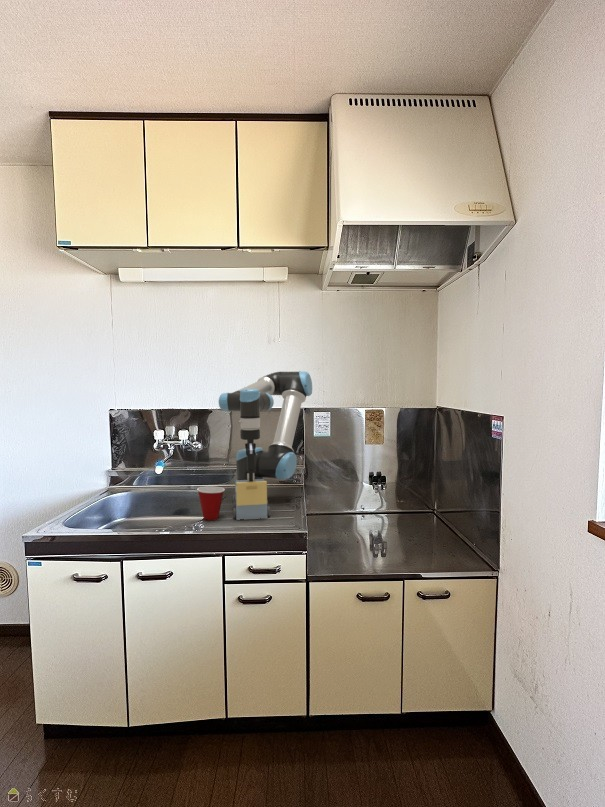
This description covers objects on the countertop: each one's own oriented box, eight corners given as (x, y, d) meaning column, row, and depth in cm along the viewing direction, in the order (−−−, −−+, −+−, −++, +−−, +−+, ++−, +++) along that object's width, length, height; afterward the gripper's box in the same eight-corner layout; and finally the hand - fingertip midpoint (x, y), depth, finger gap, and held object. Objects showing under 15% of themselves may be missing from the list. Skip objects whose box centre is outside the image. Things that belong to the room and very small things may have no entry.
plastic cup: (230, 519, 183) (229, 489, 182) (203, 524, 178) (202, 493, 177) (219, 512, 192) (218, 483, 192) (193, 517, 187) (193, 487, 186)
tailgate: (236, 504, 182) (236, 482, 180) (266, 503, 184) (266, 480, 182) (236, 506, 180) (236, 483, 179) (267, 504, 182) (266, 482, 181)
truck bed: (232, 509, 196) (232, 480, 195) (267, 507, 198) (266, 478, 197) (233, 520, 182) (232, 488, 181) (270, 517, 184) (269, 486, 184)
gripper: (240, 427, 188) (240, 485, 189) (240, 430, 175) (241, 493, 176) (258, 426, 189) (259, 484, 190) (260, 430, 176) (261, 492, 177)
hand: (250, 489), depth 183 cm, fingers closed
